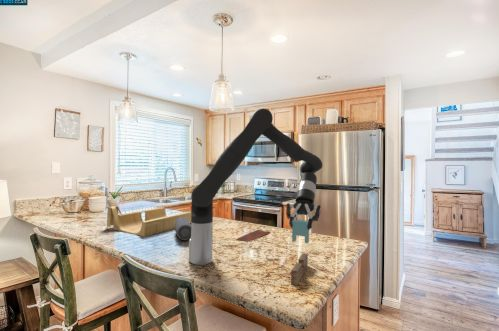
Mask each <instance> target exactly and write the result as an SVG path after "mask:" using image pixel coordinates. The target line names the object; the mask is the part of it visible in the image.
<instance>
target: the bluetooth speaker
mask: <svg viewBox="0 0 499 331" xmlns="http://www.w3.org/2000/svg"><path fill="white" fill-rule="evenodd" d="M174 231H175V233H176V236H177V237H178V238H179V239H180V240H181V241H187V240H188V241H189V240H190V239H191V224H190V222H189V221H188V219H186V218H184V217H180V218H178V219H177V220H176V221H175V228H174Z"/></svg>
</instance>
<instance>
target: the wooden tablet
mask: <svg viewBox="0 0 499 331" xmlns="http://www.w3.org/2000/svg"><path fill="white" fill-rule="evenodd" d="M269 234H271V231H270V230H269V231H268V230H266V231H265V230H263V229H257V230H256V229H255V230H253V231H251V232H249V233H246V234H244V235H242V236H240V237H238V238H236V239H235V241H238V242H245V243H248V242H252V241H255V240H257V239H259V238H261V237H263V236H266V235H269Z"/></svg>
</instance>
